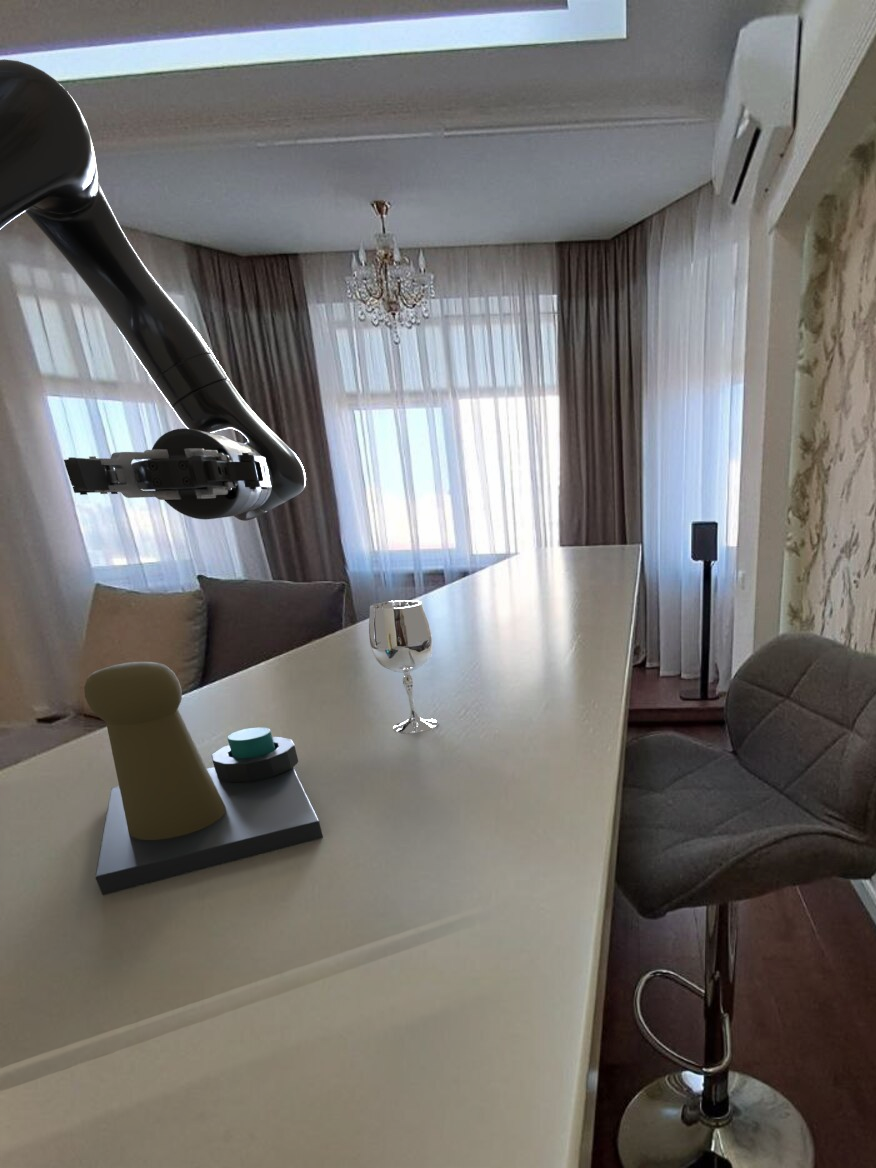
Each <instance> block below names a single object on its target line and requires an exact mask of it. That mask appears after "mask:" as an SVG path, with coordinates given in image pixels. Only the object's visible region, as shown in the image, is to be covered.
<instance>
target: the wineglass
mask: <svg viewBox="0 0 876 1168" xmlns="http://www.w3.org/2000/svg"><path fill="white" fill-rule="evenodd" d="M368 615H369V617H368V618H369V619H368V635H369V645H370V648H371V652H372V654H373V657H374V659H375V660H376V661H377V663H379V665H380V666H381V667H383V668H385V669H387V670H388V671H391V672H392V671H393V672H396V673H401V674H403V678H402V684H403V687H404V689H405V691H406V694H407V697H408V703H409V708H410V709H409V710H410V713H409V717H408V719H405V720H402V721H399V722H397V723H396V724H395V725H393V726H392V731H394V732H396V733H399V734H417V733H423V732H426V731H430V730H432V729H434V728H437V727H438V725H439V723H438V721H437V719H433V718H426V717H421V716H419V714H418V713H417V710H416V706H415V700H414V686H415V681H414V678H413V676H412V675H411V672H412V673H413V672H414V671H416V670H419V669H421V668H422V667H423V666H425V665H426V664H428V662H429V661H430V659H431V657H432V654H433V649H434V641H433V640H434V639H433V633H432V629H431V626H430V623H429V620H428V616H427V614H426V611H425V608H424V606H423V604H422V601H419V600H391V601H385V602H379V603H373V604H372V605H370V606H369V614H368Z"/></svg>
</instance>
